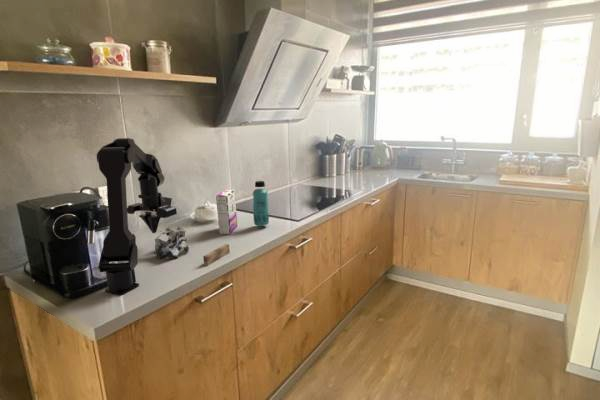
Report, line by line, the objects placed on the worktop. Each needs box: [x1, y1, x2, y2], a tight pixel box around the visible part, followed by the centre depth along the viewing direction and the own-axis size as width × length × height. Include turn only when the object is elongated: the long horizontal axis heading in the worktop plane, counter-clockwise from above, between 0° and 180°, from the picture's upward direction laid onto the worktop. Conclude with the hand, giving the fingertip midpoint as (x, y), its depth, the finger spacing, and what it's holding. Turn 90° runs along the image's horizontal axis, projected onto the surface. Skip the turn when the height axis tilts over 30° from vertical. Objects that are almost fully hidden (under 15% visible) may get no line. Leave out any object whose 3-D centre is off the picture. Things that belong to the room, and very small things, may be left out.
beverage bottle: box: [252, 180, 270, 227], centre depth 153 cm, size 6×7×20 cm
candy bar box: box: [215, 189, 238, 235], centre depth 150 cm, size 11×5×16 cm, turn 174°
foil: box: [154, 226, 190, 259], centre depth 128 cm, size 12×11×15 cm
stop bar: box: [203, 243, 230, 266], centre depth 121 cm, size 12×2×3 cm, turn 155°
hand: (154, 232), depth 131 cm, fingers closed
